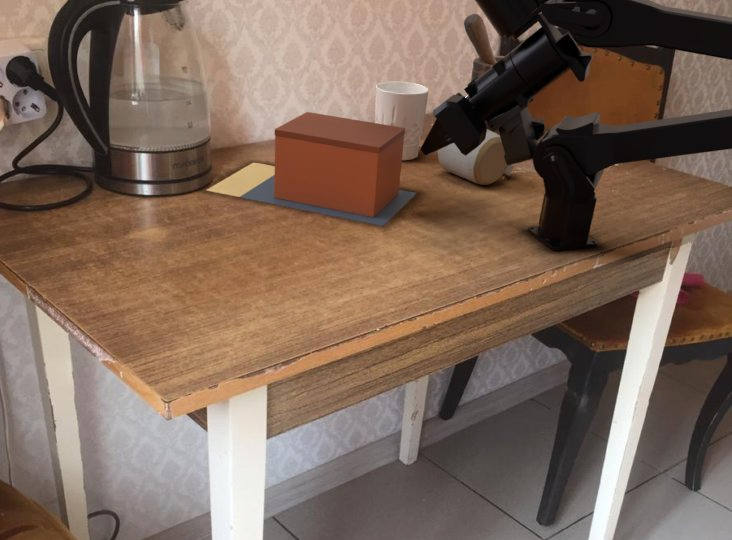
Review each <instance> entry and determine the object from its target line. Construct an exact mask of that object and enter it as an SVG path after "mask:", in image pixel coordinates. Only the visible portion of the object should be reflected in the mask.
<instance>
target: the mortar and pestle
mask: <svg viewBox="0 0 732 540" xmlns="http://www.w3.org/2000/svg"><path fill="white" fill-rule="evenodd" d="M463 26H464V31H465V33H466V35H467V37H468V40H469V41H470V42H471V44H472V46H473V47H474V50H475V52H476V54H477V55H478V57H475V58H474V59H473V62H472V69H471V78H470V79H471V80H470V82H471V81H472V80H474V79H475V78H476V77H477V76H479V75H480V74H481V73H483V72H486V71H487V70H489V69H490V68H491V67H492V66H493V65H495V64H496V63H497V62H498V61H499V60H501V59H502V58H503V57H505V56H506V55H505V56H504V55H498V56H497V55H494V52H493V49H492V45H491V43H490V39H489V34H488V29H487V27H486V25H485V22H484V19H483V17H481V15H479V14H478V13H471V14H470V15H467V16H466V17H465V18H464V21H463ZM487 123H488V122H487V121H486V125H487V129H488V130H490V131H492V130H491V129H490V127H489V126H488V124H487ZM494 133H496V134H498V135H499V136H500V134H499V129H497V130H496V131H495V132H494Z"/></svg>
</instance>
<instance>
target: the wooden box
mask: <svg viewBox="0 0 732 540" xmlns="http://www.w3.org/2000/svg"><path fill="white" fill-rule="evenodd" d="M404 134H405V128H402V127H396V126H390V125H383V124H377V123H375V122H370V121H366V120H358V119H353V118H347V117H341V116H334V115H330V114H329V115H328V114H323V113H317V112H316V113H315V112H311V111H306V112H304V113H302V114H300V115H298V116H297V117H294V118H293V119H291V120H289V121H288V122H285V123H284V124H281V125H280V126H278V127H276V128H274V166H275V176H274V198H278V199H283V200H288V201H293V202H298V203H303V204H308V205H313V206H318V207H324V208H329V209H334V210H339V211H344V212H349V213H354V214H359V215H364V216H369V217H375V216H376V215H377V214H378V213H379V212H380V211H381V210H382V209H383V208H384V207H385V206H386V205H388V204H389V203H390V202H391V201H392V200H393V199H394V198H395V197H396V196H397V195H398V194H399V190H400V182H401V171H402V163H403V160H402V153H403V143H404Z"/></svg>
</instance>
